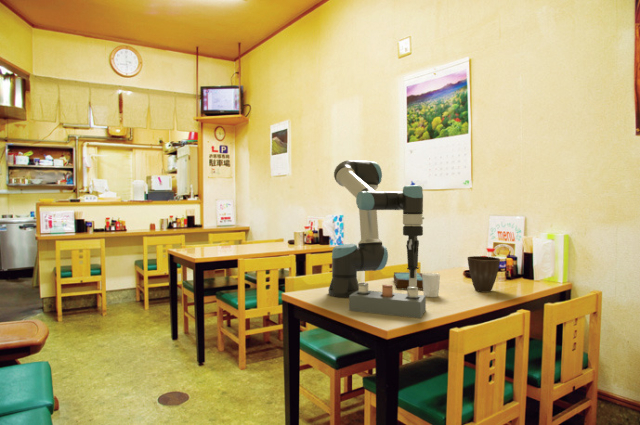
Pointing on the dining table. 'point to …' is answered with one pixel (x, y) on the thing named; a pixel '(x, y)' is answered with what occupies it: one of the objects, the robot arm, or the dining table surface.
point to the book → (406, 280)
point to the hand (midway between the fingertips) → (412, 285)
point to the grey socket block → (388, 304)
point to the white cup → (431, 284)
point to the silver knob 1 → (363, 288)
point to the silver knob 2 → (412, 293)
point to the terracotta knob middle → (387, 291)
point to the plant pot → (483, 272)
